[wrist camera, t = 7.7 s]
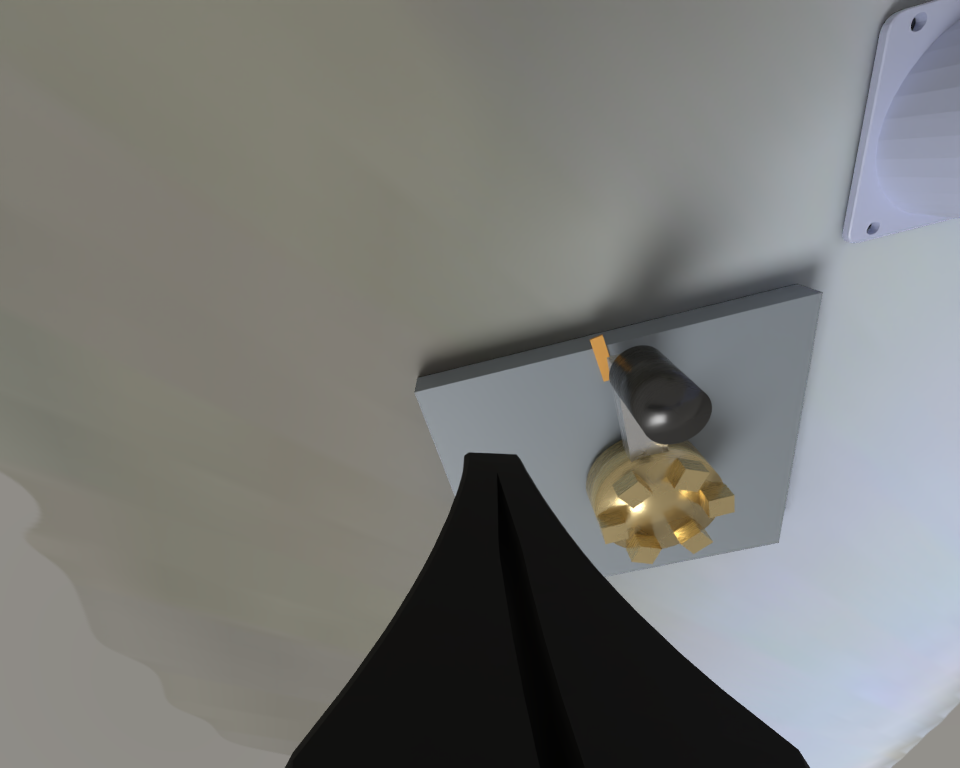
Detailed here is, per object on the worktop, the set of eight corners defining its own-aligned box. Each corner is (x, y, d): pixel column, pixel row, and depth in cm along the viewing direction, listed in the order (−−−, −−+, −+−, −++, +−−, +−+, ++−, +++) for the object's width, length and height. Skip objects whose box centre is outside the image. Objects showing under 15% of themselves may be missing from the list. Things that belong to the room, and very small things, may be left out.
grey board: (799, 271, 18) (826, 279, 17) (763, 524, 27) (779, 544, 25) (413, 367, 20) (410, 382, 19) (493, 578, 28) (494, 599, 27)
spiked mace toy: (703, 502, 23) (763, 585, 18) (596, 530, 24) (628, 615, 19) (691, 309, 17) (773, 359, 13) (549, 353, 18) (579, 415, 13)
